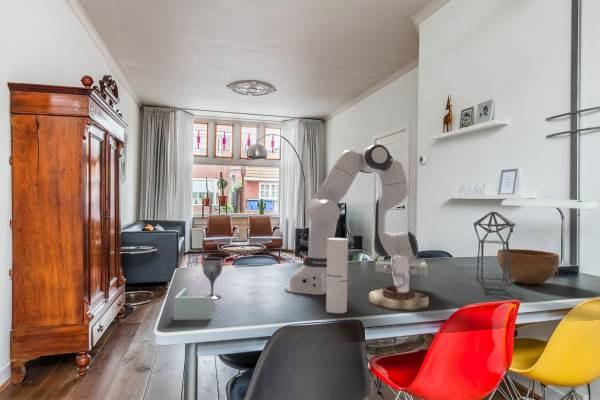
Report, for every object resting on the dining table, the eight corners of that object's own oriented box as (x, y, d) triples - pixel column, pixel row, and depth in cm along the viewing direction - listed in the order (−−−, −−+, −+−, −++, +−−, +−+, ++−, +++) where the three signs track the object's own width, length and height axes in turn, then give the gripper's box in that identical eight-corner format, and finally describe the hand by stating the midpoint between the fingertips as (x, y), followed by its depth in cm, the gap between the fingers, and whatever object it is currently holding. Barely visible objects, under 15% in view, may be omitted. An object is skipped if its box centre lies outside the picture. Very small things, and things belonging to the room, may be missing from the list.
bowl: (556, 282, 174) (557, 251, 174) (561, 292, 153) (561, 258, 153) (498, 276, 188) (498, 247, 188) (495, 285, 167) (495, 253, 167)
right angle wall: (212, 321, 112) (212, 297, 112) (173, 321, 111) (174, 297, 111) (218, 309, 124) (218, 288, 124) (183, 310, 123) (183, 288, 123)
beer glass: (412, 297, 131) (410, 256, 132) (393, 297, 132) (391, 257, 133) (410, 293, 138) (408, 255, 139) (392, 294, 139) (389, 255, 140)
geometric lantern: (474, 293, 150) (473, 211, 151) (473, 286, 164) (473, 211, 165) (517, 298, 143) (516, 211, 144) (512, 290, 157) (512, 211, 158)
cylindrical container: (324, 307, 127) (325, 237, 127) (344, 307, 127) (345, 237, 127) (327, 313, 120) (329, 239, 120) (348, 313, 120) (349, 240, 120)
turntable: (372, 308, 125) (373, 296, 125) (365, 292, 147) (366, 282, 147) (436, 311, 124) (436, 298, 124) (419, 294, 146) (420, 283, 146)
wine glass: (203, 301, 132) (204, 261, 133) (199, 295, 140) (200, 257, 140) (224, 298, 136) (225, 259, 136) (219, 293, 143) (220, 256, 143)
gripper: (378, 256, 152) (371, 260, 140) (429, 259, 144) (426, 265, 131) (378, 270, 152) (371, 276, 140) (429, 275, 144) (426, 282, 131)
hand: (398, 271), depth 135 cm, fingers open, 8 cm apart
